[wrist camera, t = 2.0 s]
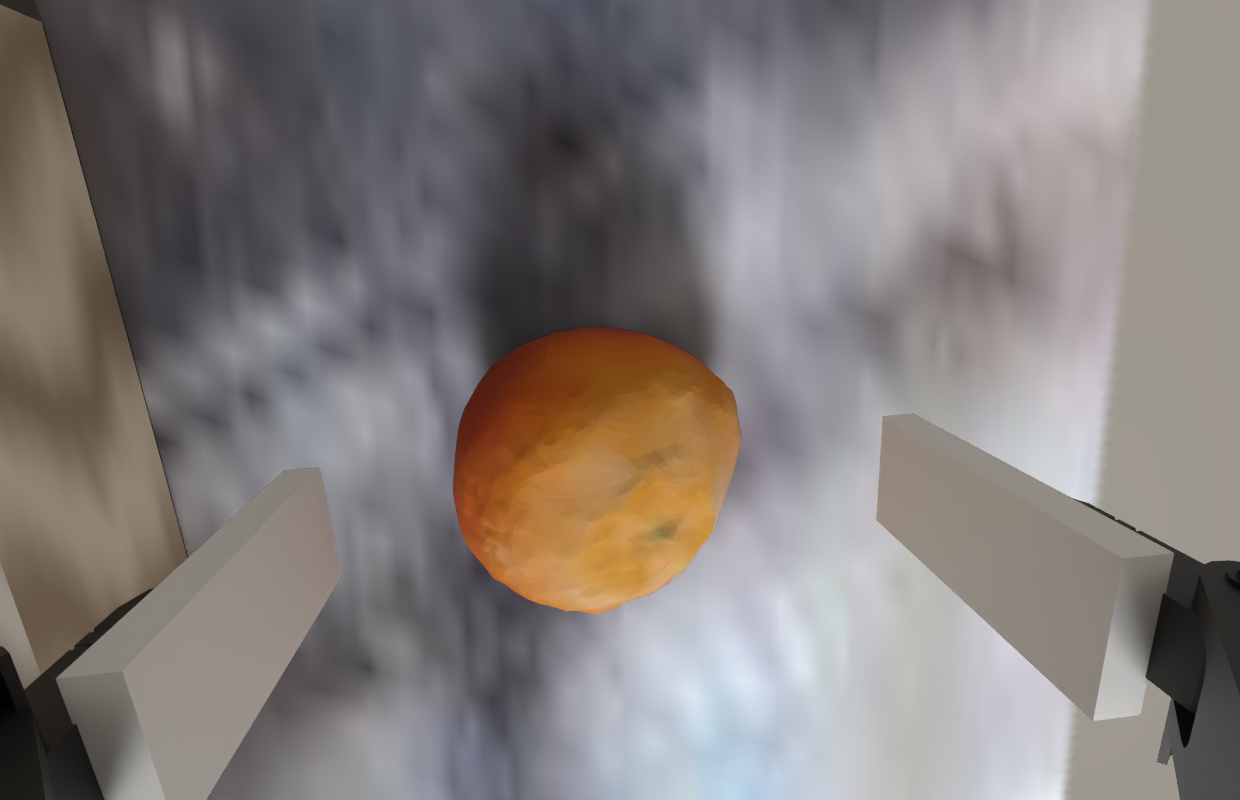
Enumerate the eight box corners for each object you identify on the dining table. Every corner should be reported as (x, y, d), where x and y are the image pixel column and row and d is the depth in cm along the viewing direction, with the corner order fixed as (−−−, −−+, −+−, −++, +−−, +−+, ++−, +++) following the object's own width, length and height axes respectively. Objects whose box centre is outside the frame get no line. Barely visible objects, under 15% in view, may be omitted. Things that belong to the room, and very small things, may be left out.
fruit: (509, 216, 17) (667, 342, 12) (670, 334, 23) (831, 458, 17) (355, 441, 19) (433, 653, 13) (544, 502, 24) (656, 669, 19)
